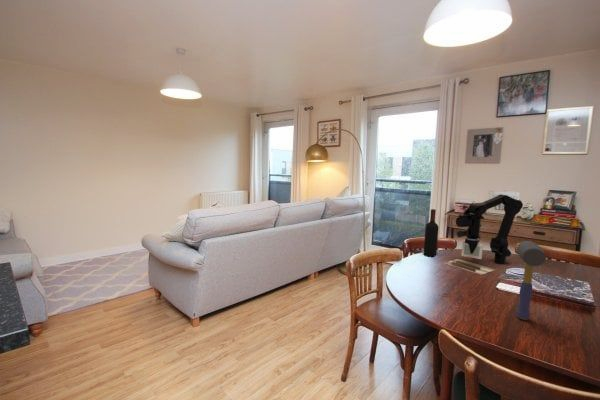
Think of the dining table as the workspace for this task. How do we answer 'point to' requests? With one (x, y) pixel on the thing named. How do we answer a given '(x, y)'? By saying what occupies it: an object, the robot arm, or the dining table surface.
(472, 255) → the white block
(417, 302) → the dining table surface
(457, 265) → the display stand
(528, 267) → the rubber mallet
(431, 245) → the wine bottle
